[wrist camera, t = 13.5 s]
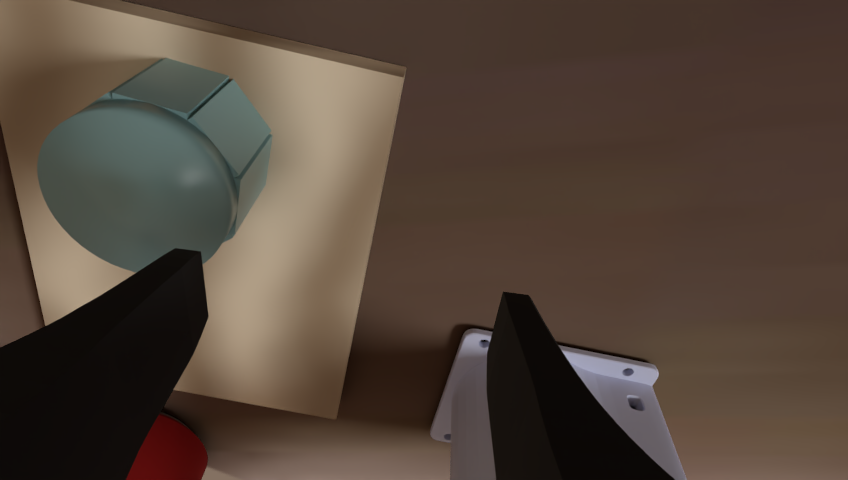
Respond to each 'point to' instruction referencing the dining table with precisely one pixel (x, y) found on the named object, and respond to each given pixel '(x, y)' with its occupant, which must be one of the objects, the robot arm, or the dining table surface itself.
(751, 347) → the dining table surface
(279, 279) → the stud plate
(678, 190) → the dining table surface
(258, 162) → the cap
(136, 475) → the beverage can
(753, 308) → the dining table surface
